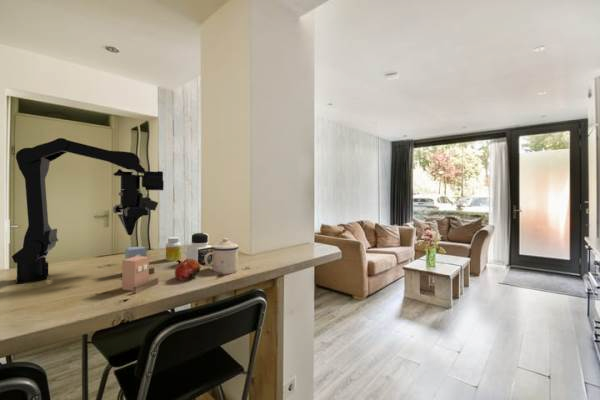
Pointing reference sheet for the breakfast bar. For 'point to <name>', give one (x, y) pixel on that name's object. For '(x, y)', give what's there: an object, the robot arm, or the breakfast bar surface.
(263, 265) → the breakfast bar surface
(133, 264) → the pink box
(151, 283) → the plinth
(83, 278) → the breakfast bar surface
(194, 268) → the pomegranate
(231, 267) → the teacup with lid
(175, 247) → the supplement bottle
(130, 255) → the blue block
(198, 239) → the medicine bottle
